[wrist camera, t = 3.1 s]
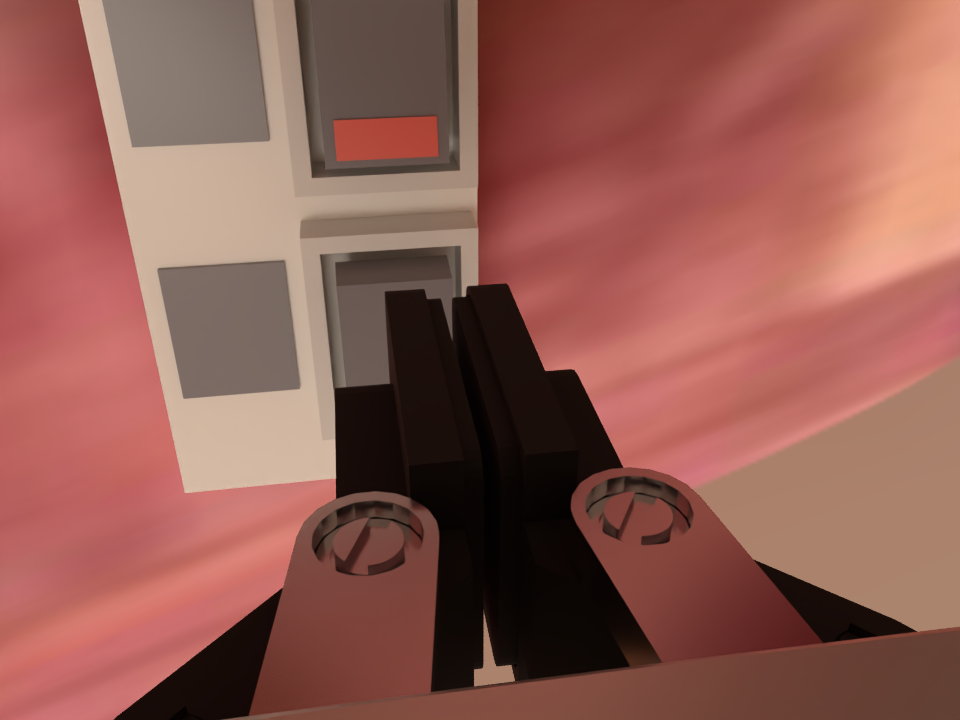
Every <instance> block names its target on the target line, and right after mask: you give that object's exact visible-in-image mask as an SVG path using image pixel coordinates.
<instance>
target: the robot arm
mask: <svg viewBox="0 0 960 720" xmlns="http://www.w3.org/2000/svg"><path fill="white" fill-rule="evenodd" d="M385 313H386V330H387V346H388V363H389V379H390V384H378V385H365V386H352V387H340V388H335V449H336V499H335V500H333V501H331V502H329V503H327V504H326V505H324V506H322V507H320V508H318V509H317V510H316V511H315V512H314V513H313V514H312V515H311V516H310V517H309V518H308V519H307V520H305V521H304V523H303V525H302V527H301V529H300V531H299V533H298V535H297V538H296V541H295V545H294V549H293V553H292V556H291V560H290V564H289V567H288V571H287V575H286V579H285V582H284V586H283V588H282V589H280V590H279V591H278V592H277V593H275V594H274V595H273V596H271V597H270V598H269V599H268V600H266V601H265V602H264V603H262V604H261V605H260V606H259V607H257V608H256V609H255V610H253V611H252V612H251V613H250V614H248V615H247V616H246V617H244V618H243V619H242V620H241V621H239V622H238V623H237V624H235V625H234V626H233V627H232V628H230V629H229V630H228V631H226V632H225V633H224V634H223V635H221V636H220V637H219V638H217V639H216V640H215V641H214V642H212V643H211V644H210V645H208V646H207V647H206V648H205V649H203V650H202V651H201V652H199V653H198V654H197V655H196V656H194V657H193V658H192V659H190V660H189V661H188V662H187V663H185V664H184V665H183V666H181V667H180V668H179V669H178V670H176V671H175V672H174V673H172V674H171V675H170V676H169V677H167V678H166V679H165V680H163V681H162V682H161V683H160V684H158V685H157V686H156V687H154V688H153V689H152V690H151V691H149V692H148V693H147V694H145V695H144V696H143V697H142V698H140V699H139V700H138V701H136V702H135V703H134V704H133V705H131V706H130V707H129V708H127V709H126V710H125V711H123V712H122V713H121V714H120V715H118V716H117V717H116V718H115V719H114V720H960V627H954V628H945V629H937V630H928V631H920V632H917V631H915V630H913V629H911V628H909V627H908V626H906V625H904V624H902V623H900V622H898V621H896V620H894V619H892V618H890V617H887V616H885V615H882V614H880V613H878V612H876V611H873V610H871V609H869V608H866V607H864V606H861V605H859V604H857V603H854V602H852V601H850V600H847V599H845V598H843V597H840V596H838V595H836V594H833V593H831V592H829V591H826V590H824V589H821V588H819V587H817V586H814V585H812V584H810V583H807V582H805V581H803V580H800V579H798V578H796V577H793V576H791V575H788V574H786V573H784V572H781V571H779V570H777V569H774V568H772V567H770V566H767V565H765V564H763V563H760V562H758V561H756V560H753V559H752V557H751V556H750V555H749V554H748V553H747V551H746V550H745V549H744V548H743V547H742V545H741V544H740V543H739V542H738V541H737V540H736V538H735V537H734V536H733V535H732V534H731V532H730V531H729V530H728V529H727V528H726V526H725V525H724V524H723V523H722V522H721V521H720V519H719V518H718V517H717V516H716V515H715V514H714V512H713V511H712V510H711V509H710V507H709V506H708V505H707V504H706V503H705V501H704V500H703V499H702V498H701V497H700V496H699V495H698V494H697V493H696V492H695V491H694V490H693V489H691V488H690V487H689V486H688V485H687V484H685V483H683V482H682V481H680V480H678V479H676V478H674V477H672V476H670V475H667V474H664V473H660V472H657V471H654V470H650V469H641V468H631V467H628V468H623V466H622V464H621V462H620V460H619V458H618V456H617V454H616V452H615V450H614V448H613V446H612V444H611V442H610V440H609V437H608V435H607V433H606V431H605V429H604V427H603V425H602V423H601V421H600V419H599V417H598V415H597V413H596V411H595V409H594V407H593V405H592V403H591V401H590V399H589V397H588V395H587V393H586V391H585V389H584V387H583V385H582V383H581V381H580V379H579V376H578V375H577V373H576V372H575V370H572V369H568V370H556V371H545V370H544V367H543V365H542V363H541V360H540V358H539V356H538V353H537V351H536V349H535V346H534V344H533V342H532V339H531V337H530V335H529V333H528V330H527V328H526V326H525V323H524V321H523V319H522V316H521V314H520V312H519V309H518V307H517V305H516V302H515V300H514V298H513V295H512V293H511V291H510V288H509V286H508V285H507V284H492V285H476V286H467V289H466V297H453V298H452V338H451V335H450V331H449V327H448V323H447V319H446V316H445V312H444V308H443V304H442V300H441V298H437V299H427V297H426V293H425V289H415V290H399V291H385ZM484 614H485V618H486V623H487V628H488V633H489V637H490V642H491V647H492V652H493V656H494V660H495V664H496V666H505V665H512V669H513V674H514V678H515V681H514V682H507V683H499V684H491V685H483V686H476V687H474V669H481V668H483V615H484Z"/></svg>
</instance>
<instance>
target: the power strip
mask: <svg viewBox="0 0 960 720" xmlns="http://www.w3.org/2000/svg"><path fill="white" fill-rule="evenodd" d="M78 2H79V6H80V11H81V16H82V20H83V25H84V30H85V34H86V39H87V43H88V48H89V53H90V57H91V62H92V66H93V71H94V76H95V80H96V85H97V89H98V94H99V99H100V103H101V108H102V112H103V117H104V122H105V126H106V131H107V135H108V140H109V145H110V149H111V154H112V158H113V163H114V168H115V172H116V177H117V182H118V186H119V191H120V195H121V200H122V205H123V209H124V214H125V218H126V223H127V228H128V232H129V237H130V241H131V246H132V251H133V255H134V260H135V264H136V269H137V274H138V278H139V283H140V287H141V292H142V297H143V301H144V306H145V310H146V315H147V320H148V324H149V329H150V333H151V338H152V343H153V347H154V352H155V357H156V361H157V366H158V370H159V375H160V380H161V384H162V389H163V393H164V398H165V403H166V407H167V412H168V416H169V421H170V426H171V430H172V435H173V439H174V444H175V449H176V453H177V458H178V462H179V467H180V472H181V476H182V481H183V485H184V490H185V493H191V492H201V491H211V490H221V489H231V488H241V487H252V486H262V485H272V484H282V483H292V482H302V481H313V480H323V479H333V478H336V449H335V388H340V387H346V380H345V370H344V360H343V349H342V339H341V329H340V319H339V308H338V298H337V288H336V271H335V262H347V261H362V260H378V259H393V258H409V257H424V256H440V255H447V258H448V263H449V267H450V271H451V275H452V298H453V297H466V289H467V286H476V285H478V226H477V187H478V0H444V25H445V50H446V75H447V100H448V125H449V150H450V163H444V164H424V165H404V166H384V167H364V168H344V169H325V158H324V147H323V135H322V124H321V113H320V102H319V90H318V79H317V68H316V57H315V45H314V34H313V23H312V12H311V0H78Z"/></svg>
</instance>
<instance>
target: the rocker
mask: <svg viewBox="0 0 960 720" xmlns="http://www.w3.org/2000/svg"><path fill="white" fill-rule="evenodd" d="M335 271H336V288H337V298H338V308H339V319H340V329H341V339H342V349H343V360H344V370H345V380H346V387H352V386H365V385H378V384H390V379H389V363H388V346H387V330H386V313H385V291H399V290H415V289H425V293H426V297H427V299H437V298H441V300H442V304H443V308H444V312H445V316H446V319H447V323H448V327H449V331H450V335H451V338H452V275H451V271H450V267H449V263H448V258H447V255H440V256H424V257H409V258H393V259H378V260H362V261H347V262H335Z"/></svg>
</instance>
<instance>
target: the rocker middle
mask: <svg viewBox="0 0 960 720" xmlns="http://www.w3.org/2000/svg"><path fill="white" fill-rule="evenodd" d="M311 12H312V23H313V34H314V45H315V57H316V68H317V79H318V90H319V102H320V113H321V124H322V135H323V147H324V158H325V169H344V168H364V167H384V166H404V165H424V164H444V163H450V150H449V125H448V100H447V75H446V50H445V25H444V0H311Z"/></svg>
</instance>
